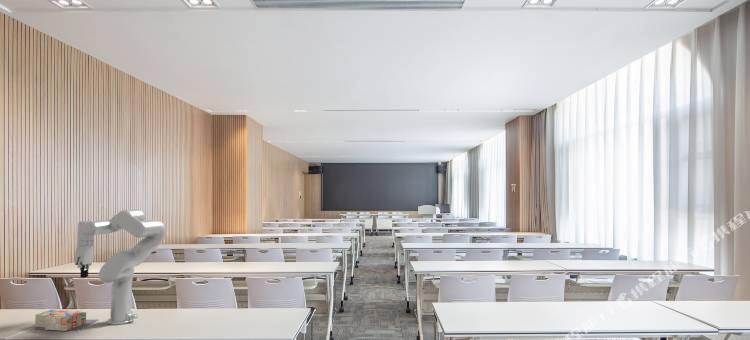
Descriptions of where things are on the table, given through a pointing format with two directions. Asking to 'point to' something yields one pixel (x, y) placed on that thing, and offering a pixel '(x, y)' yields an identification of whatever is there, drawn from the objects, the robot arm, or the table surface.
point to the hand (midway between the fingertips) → (84, 277)
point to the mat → (78, 326)
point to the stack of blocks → (60, 320)
